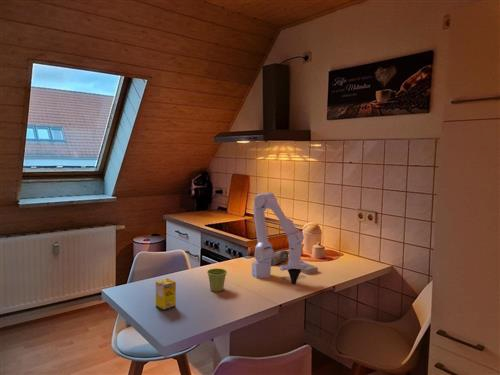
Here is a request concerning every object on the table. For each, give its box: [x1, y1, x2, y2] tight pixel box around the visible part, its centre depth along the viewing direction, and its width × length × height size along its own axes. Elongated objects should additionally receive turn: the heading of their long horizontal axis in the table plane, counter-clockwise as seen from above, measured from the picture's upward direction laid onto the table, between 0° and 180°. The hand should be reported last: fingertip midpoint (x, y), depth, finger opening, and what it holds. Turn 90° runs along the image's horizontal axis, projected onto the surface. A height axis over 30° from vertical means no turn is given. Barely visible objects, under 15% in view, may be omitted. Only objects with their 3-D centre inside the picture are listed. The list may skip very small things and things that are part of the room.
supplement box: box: [155, 278, 177, 312], centre depth 156 cm, size 6×6×11 cm
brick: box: [287, 259, 319, 276], centre depth 208 cm, size 17×8×5 cm, turn 35°
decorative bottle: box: [271, 249, 289, 267], centre depth 225 cm, size 26×8×7 cm, turn 148°
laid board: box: [280, 274, 306, 281], centre depth 194 cm, size 13×4×1 cm, turn 113°
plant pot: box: [206, 268, 228, 292], centre depth 177 cm, size 9×9×9 cm
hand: (293, 283), depth 185 cm, fingers closed
